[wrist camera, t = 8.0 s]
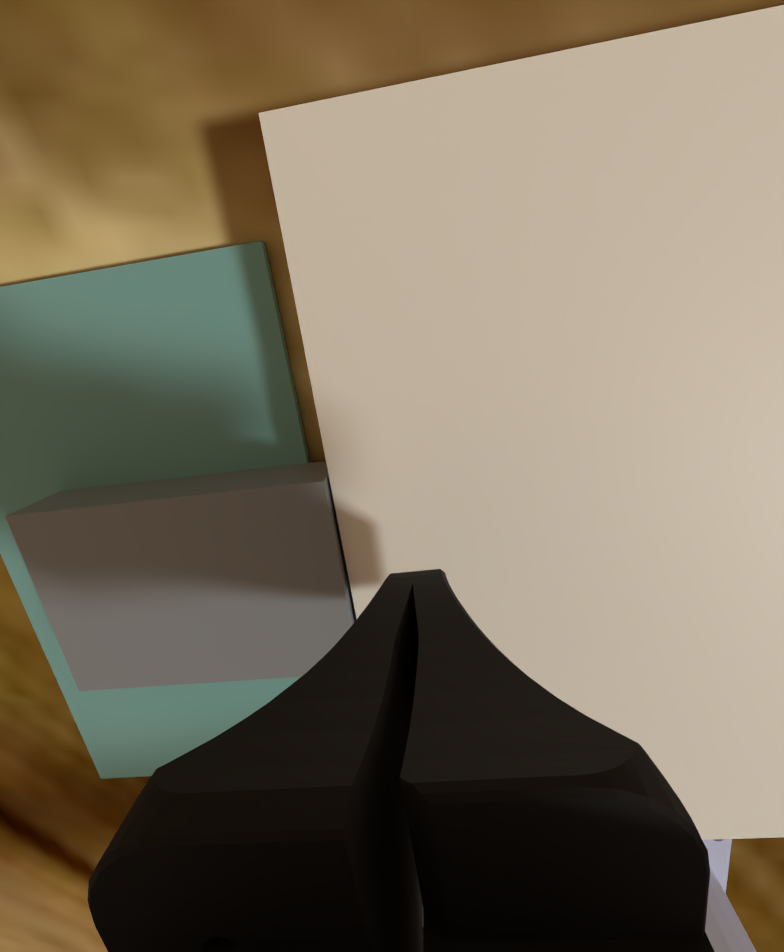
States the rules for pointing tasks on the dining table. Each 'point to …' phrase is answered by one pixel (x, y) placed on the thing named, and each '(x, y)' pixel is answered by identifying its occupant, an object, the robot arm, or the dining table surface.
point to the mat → (143, 441)
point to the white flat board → (569, 374)
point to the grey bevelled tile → (191, 576)
